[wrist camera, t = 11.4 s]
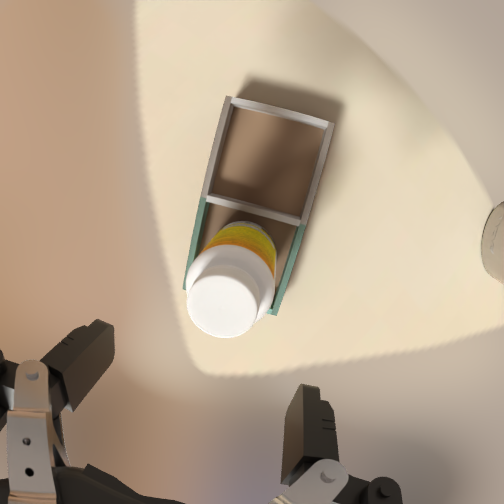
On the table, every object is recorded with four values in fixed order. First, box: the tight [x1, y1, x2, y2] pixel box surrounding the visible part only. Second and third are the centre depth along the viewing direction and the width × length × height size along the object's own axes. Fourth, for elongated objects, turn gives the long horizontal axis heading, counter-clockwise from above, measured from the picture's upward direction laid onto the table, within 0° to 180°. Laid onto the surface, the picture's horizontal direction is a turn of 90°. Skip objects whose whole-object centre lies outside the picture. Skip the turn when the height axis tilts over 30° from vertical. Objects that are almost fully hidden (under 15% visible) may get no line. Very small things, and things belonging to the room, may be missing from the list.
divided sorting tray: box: [183, 96, 335, 316], centre depth 24 cm, size 8×16×3 cm, turn 165°
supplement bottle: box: [186, 221, 277, 338], centre depth 20 cm, size 6×6×10 cm
